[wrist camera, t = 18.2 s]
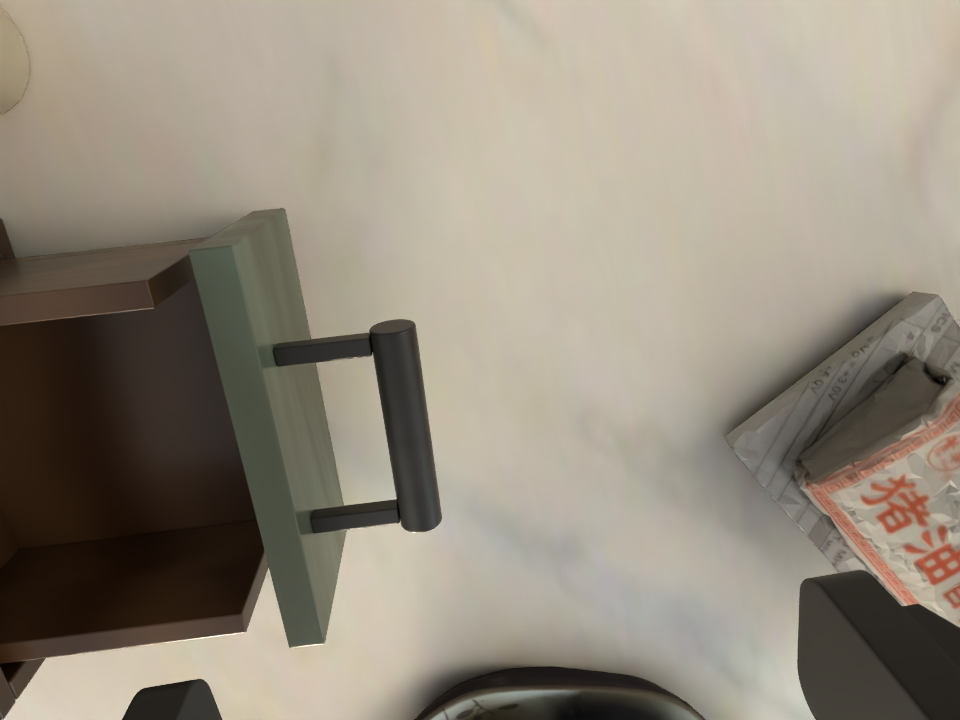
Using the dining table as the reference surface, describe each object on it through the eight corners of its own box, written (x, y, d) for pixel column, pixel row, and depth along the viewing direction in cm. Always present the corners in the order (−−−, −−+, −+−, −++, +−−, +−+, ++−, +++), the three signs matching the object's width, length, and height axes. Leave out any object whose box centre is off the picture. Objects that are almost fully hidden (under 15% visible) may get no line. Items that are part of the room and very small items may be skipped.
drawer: (406, 194, 24) (398, 227, 18) (448, 513, 29) (453, 628, 22) (-104, 249, 23) (-301, 303, 17) (26, 564, 28) (-90, 697, 22)
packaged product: (1190, 610, 28) (983, 737, 30) (1086, 540, 33) (911, 654, 35) (1007, 315, 23) (767, 494, 25) (912, 280, 27) (715, 433, 29)
